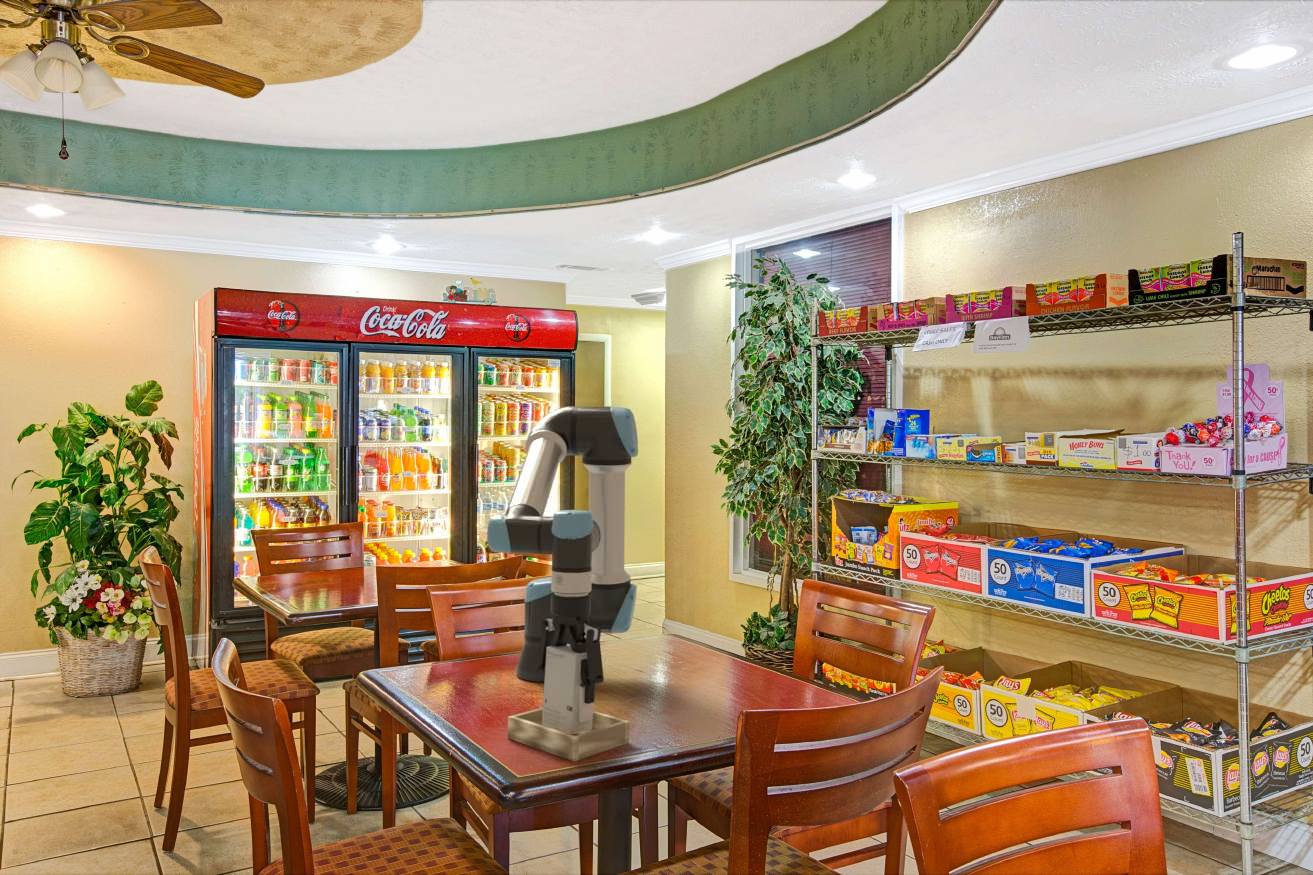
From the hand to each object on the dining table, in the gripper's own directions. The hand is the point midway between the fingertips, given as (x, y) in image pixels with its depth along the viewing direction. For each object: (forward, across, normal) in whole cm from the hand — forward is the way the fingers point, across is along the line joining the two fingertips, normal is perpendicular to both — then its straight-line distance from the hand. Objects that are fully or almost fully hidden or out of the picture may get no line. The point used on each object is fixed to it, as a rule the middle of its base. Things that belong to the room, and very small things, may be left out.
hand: (568, 714), depth 166 cm
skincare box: (+3, 0, 0) cm, 3 cm away
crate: (+5, 0, 0) cm, 5 cm away
